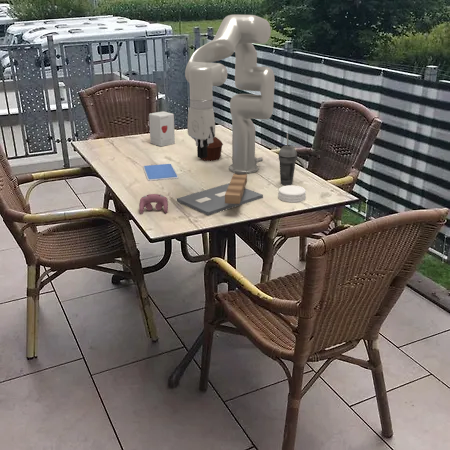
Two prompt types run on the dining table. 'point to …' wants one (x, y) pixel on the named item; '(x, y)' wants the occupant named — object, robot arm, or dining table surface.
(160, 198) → the video game controller
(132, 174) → the dining table surface
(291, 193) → the white round container
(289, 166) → the beverage cup
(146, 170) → the tablet computer
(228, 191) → the swing bar
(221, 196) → the label panel
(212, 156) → the muffin
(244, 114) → the robot arm
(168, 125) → the supplement box
